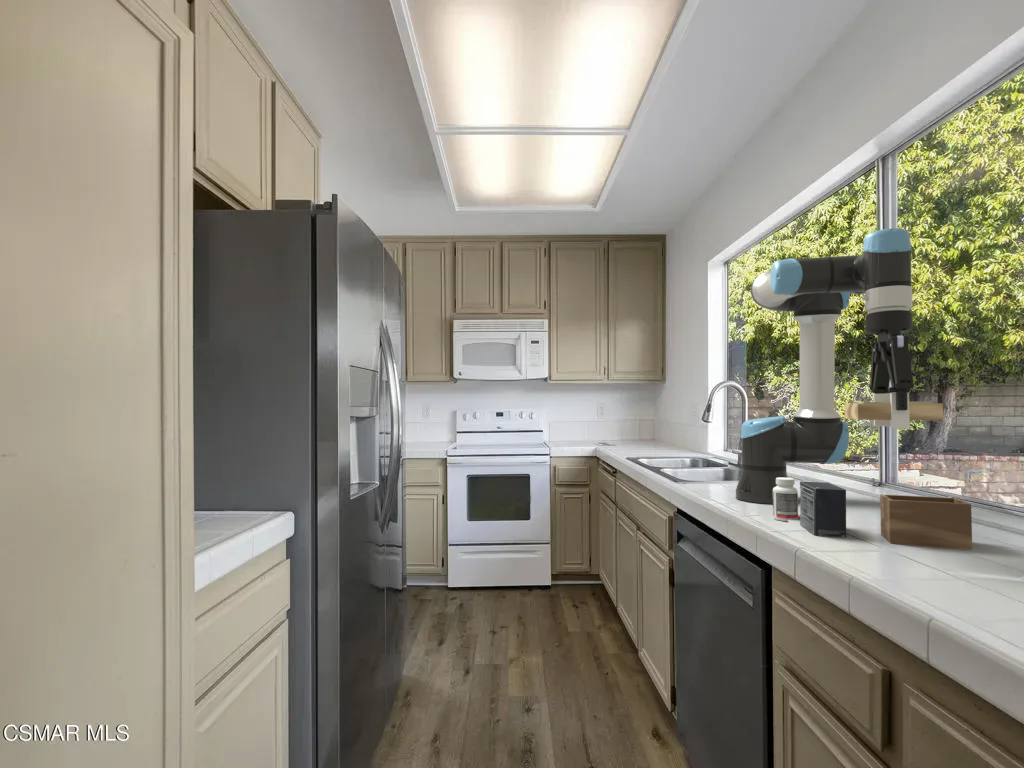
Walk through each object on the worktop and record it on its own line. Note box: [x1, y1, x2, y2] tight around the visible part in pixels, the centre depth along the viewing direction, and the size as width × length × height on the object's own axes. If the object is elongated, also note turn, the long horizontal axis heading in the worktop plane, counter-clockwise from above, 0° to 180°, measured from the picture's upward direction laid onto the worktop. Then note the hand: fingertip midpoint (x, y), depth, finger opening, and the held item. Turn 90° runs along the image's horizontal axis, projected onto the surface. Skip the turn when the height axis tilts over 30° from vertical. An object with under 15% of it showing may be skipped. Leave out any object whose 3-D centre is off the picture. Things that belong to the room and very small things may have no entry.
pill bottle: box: [772, 477, 799, 522], centre depth 135 cm, size 5×5×10 cm
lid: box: [844, 401, 944, 421], centre depth 108 cm, size 10×13×3 cm
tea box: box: [879, 494, 973, 550], centre depth 111 cm, size 7×13×9 cm, turn 69°
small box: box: [799, 480, 847, 538], centre depth 121 cm, size 11×6×10 cm, turn 168°
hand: (890, 427), depth 108 cm, fingers closed on lid, 10 cm apart
